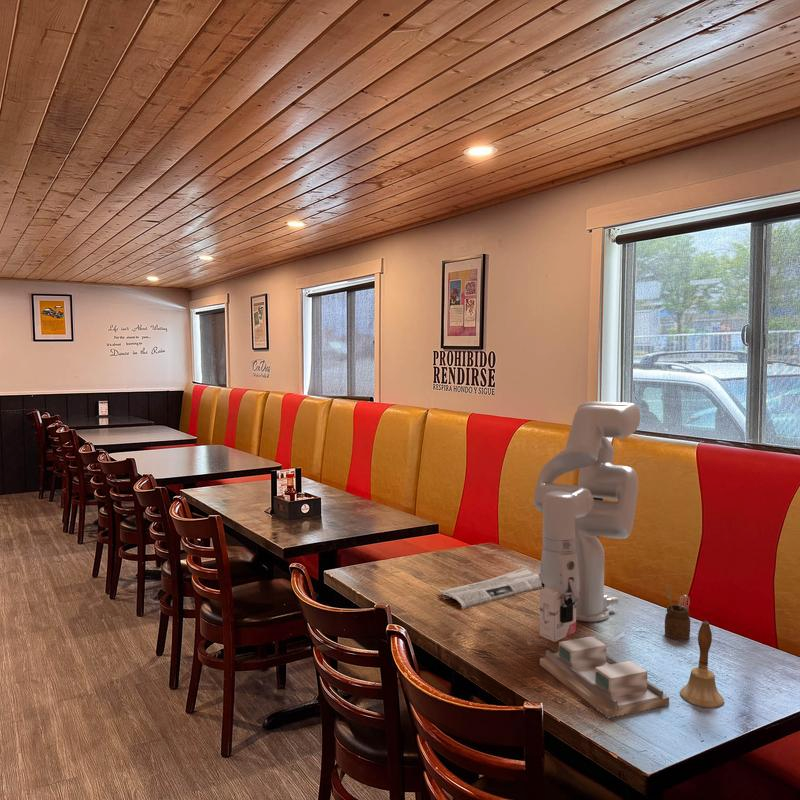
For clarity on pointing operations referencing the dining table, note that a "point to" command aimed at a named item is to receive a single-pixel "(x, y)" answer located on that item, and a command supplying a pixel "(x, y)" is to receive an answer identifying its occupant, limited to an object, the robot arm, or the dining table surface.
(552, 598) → the ink box
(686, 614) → the utensil holder
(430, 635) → the dining table surface
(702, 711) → the dining table surface
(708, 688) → the hand bell
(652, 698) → the rail board
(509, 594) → the newspaper
